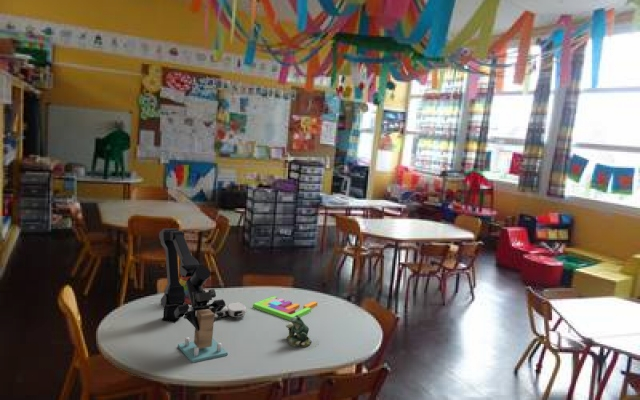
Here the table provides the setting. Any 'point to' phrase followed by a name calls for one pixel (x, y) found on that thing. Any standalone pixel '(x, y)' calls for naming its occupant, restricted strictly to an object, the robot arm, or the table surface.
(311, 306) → the toy blocks
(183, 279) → the stacking bear
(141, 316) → the table surface
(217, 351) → the peg plate
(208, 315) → the walnut pillar
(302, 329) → the frog figurine
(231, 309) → the robot toy
